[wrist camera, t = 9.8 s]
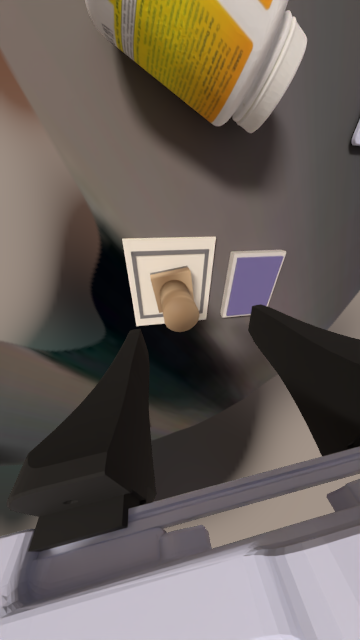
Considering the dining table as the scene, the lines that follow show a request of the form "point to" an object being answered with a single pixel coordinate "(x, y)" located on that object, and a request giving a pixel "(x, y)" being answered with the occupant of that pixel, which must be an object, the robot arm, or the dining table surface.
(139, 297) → the print sheet
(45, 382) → the dining table surface
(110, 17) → the supplement bottle
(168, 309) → the stamp
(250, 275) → the ink pad
